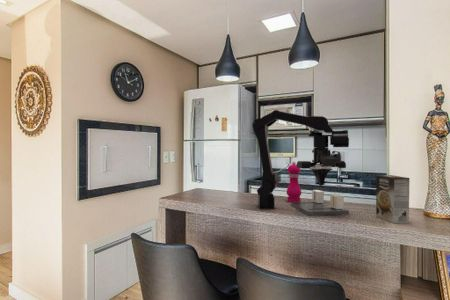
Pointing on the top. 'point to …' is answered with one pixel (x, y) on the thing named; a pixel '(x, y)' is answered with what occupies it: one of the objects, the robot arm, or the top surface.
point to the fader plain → (318, 196)
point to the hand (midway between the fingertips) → (321, 185)
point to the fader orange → (337, 201)
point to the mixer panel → (317, 208)
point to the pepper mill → (293, 183)
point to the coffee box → (392, 198)
